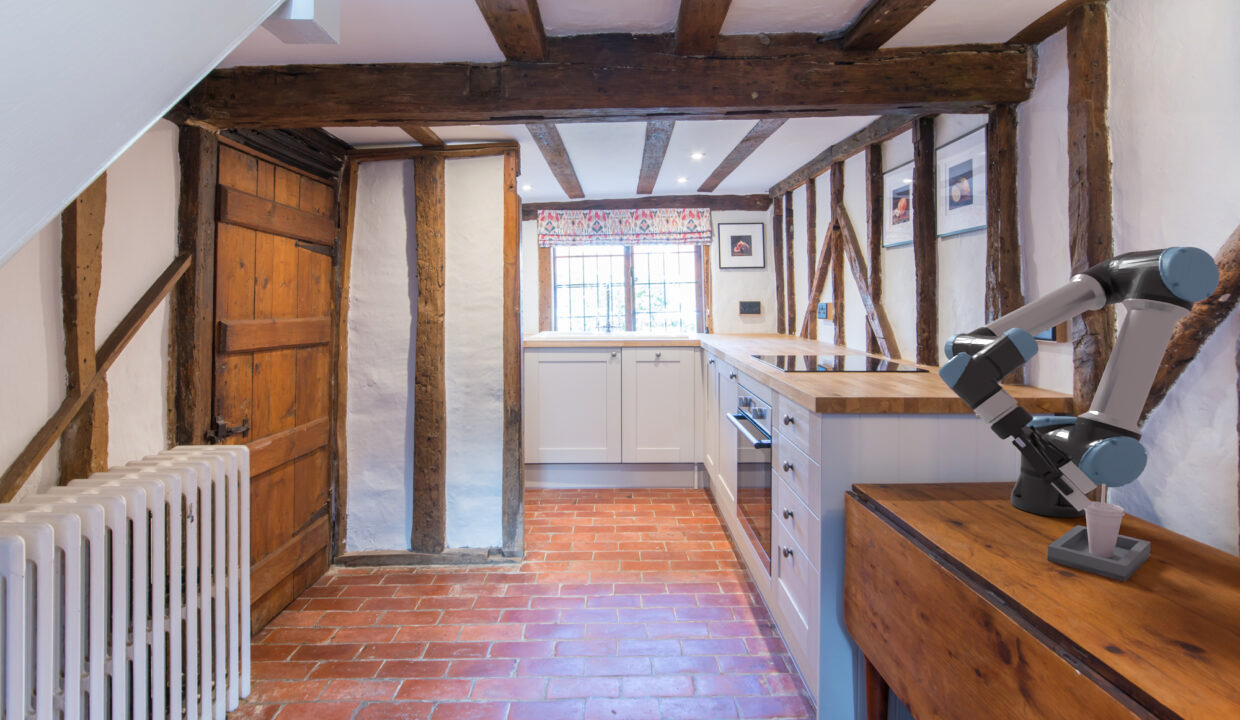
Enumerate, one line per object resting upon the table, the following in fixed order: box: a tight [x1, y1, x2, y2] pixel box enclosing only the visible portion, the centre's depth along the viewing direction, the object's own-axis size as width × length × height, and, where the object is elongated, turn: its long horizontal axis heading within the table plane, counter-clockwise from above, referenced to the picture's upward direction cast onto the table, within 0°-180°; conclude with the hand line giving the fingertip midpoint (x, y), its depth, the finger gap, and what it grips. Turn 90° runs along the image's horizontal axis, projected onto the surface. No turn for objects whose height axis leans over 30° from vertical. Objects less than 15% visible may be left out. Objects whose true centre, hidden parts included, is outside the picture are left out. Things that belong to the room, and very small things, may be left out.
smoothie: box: [1084, 484, 1126, 558], centre depth 118 cm, size 6×6×14 cm
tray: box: [1046, 524, 1152, 583], centre depth 119 cm, size 18×12×3 cm, turn 128°
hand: (1088, 498), depth 119 cm, fingers open, 13 cm apart
